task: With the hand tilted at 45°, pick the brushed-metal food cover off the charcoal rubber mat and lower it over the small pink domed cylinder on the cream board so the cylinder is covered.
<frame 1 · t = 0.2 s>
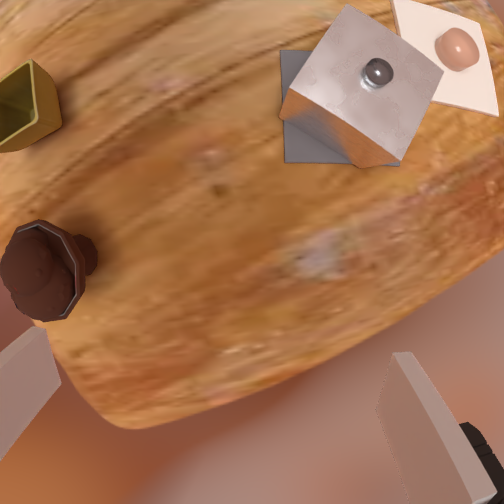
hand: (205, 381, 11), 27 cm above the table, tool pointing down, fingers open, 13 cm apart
flower pot: (47, 117, 34), on the table
rubber mat: (341, 106, 34), on the table
pink domed cylinder: (450, 53, 31), resting on serving board
serving board: (447, 55, 32), on the table
ice cream bowl: (80, 255, 38), on the table
metal cover: (342, 105, 34), resting on rubber mat
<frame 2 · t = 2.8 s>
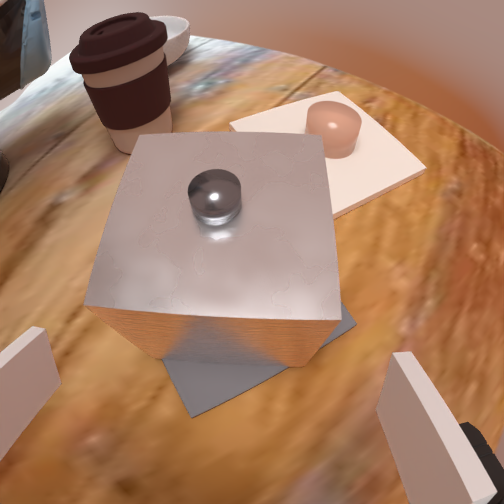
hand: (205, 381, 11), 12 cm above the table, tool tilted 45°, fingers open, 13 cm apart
rubber mat: (232, 296, 25), on the table
pink domed cylinder: (329, 141, 33), resting on serving board
coffee cup: (144, 136, 36), on the table
serving board: (328, 147, 34), on the table
metal cover: (231, 294, 25), resting on rubber mat
cereal bowl: (143, 68, 45), on the table
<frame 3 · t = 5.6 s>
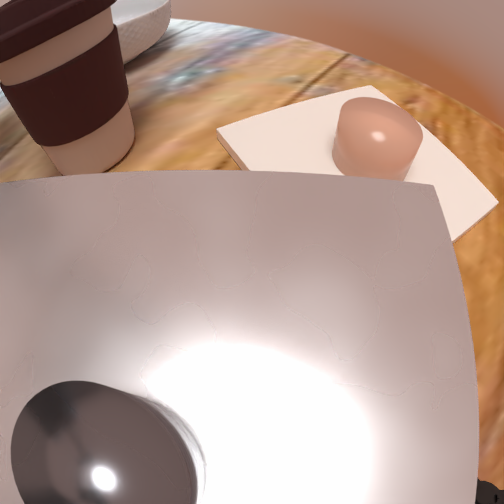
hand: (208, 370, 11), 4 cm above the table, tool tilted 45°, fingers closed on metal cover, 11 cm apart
pink domed cylinder: (370, 159, 21), resting on serving board
coffee cup: (96, 151, 24), on the table
serving board: (366, 169, 22), on the table
metal cover: (215, 438, 13), point 1 cm above the table, touching gripper, rubber mat
cereal bowl: (113, 59, 33), on the table
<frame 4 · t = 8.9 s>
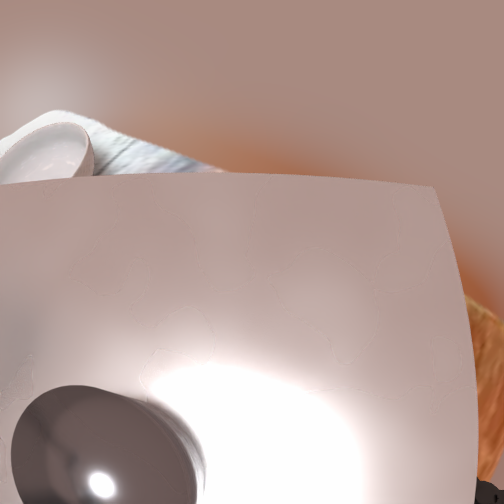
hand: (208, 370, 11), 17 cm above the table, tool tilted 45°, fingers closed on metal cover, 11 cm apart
metal cover: (214, 440, 13), point 13 cm above the table, touching gripper
cereal bowl: (53, 201, 38), on the table
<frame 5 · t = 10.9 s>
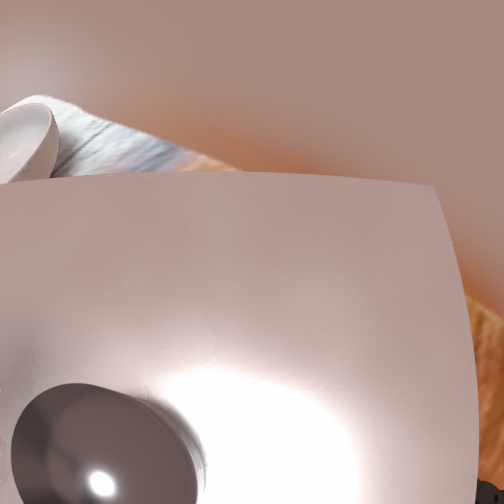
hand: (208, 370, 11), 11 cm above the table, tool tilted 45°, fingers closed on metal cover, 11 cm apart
metal cover: (215, 439, 13), point 7 cm above the table, touching gripper
cereal bowl: (16, 192, 31), on the table
when the fingers open (6 cm above the table, at t = 12.7 s): metal cover stays where it is, resting on serving board.
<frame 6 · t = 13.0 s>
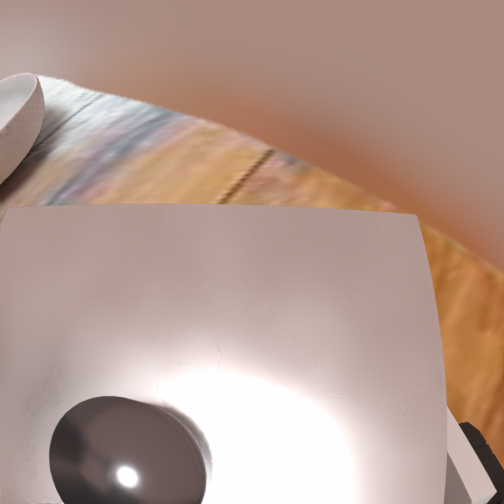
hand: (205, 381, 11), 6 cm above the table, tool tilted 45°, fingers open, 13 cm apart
metal cover: (216, 439, 14), point 1 cm above the table, touching serving board
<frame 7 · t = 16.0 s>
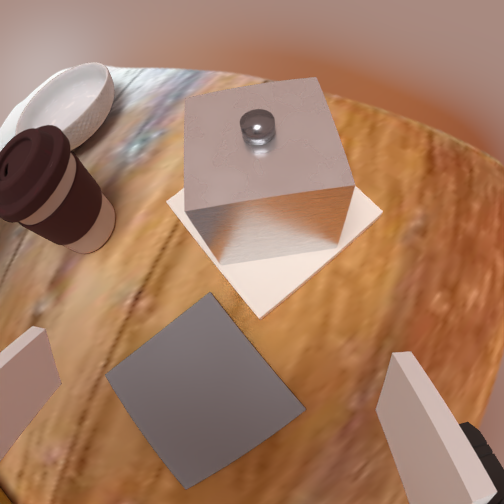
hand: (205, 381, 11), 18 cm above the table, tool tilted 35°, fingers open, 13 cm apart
flower pot: (1, 498, 24), on the table
rubber mat: (197, 395, 28), on the table
coffee cup: (92, 227, 36), on the table
serving board: (271, 209, 33), on the table
metal cover: (270, 205, 32), point 1 cm above the table, touching serving board
cereal bowl: (80, 128, 43), on the table
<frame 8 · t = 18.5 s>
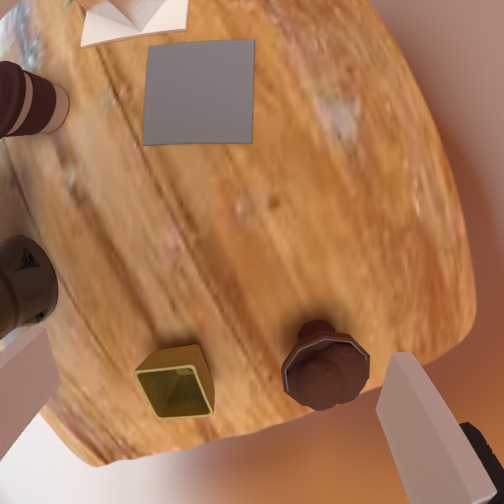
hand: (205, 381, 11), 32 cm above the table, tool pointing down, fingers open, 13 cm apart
flower pot: (187, 358, 47), on the table
rubber mat: (197, 90, 37), on the table
coffee cup: (52, 109, 38), on the table
ice cream bowl: (316, 335, 45), on the table
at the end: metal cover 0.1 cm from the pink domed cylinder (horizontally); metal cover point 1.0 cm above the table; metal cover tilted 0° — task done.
